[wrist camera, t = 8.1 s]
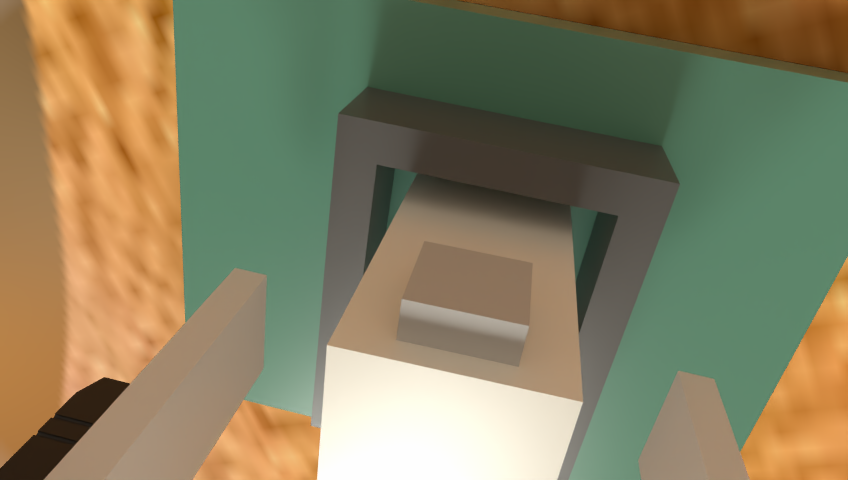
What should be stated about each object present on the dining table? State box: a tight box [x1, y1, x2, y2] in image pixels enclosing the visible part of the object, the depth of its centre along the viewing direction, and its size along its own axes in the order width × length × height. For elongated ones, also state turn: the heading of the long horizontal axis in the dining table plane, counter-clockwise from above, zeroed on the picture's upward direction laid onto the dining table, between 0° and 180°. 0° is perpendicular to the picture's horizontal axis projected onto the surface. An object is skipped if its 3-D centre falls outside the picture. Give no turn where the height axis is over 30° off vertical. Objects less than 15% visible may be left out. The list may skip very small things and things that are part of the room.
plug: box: [317, 173, 583, 480], centre depth 14 cm, size 4×7×8 cm, turn 173°
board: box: [173, 0, 848, 480], centre depth 18 cm, size 18×14×4 cm
